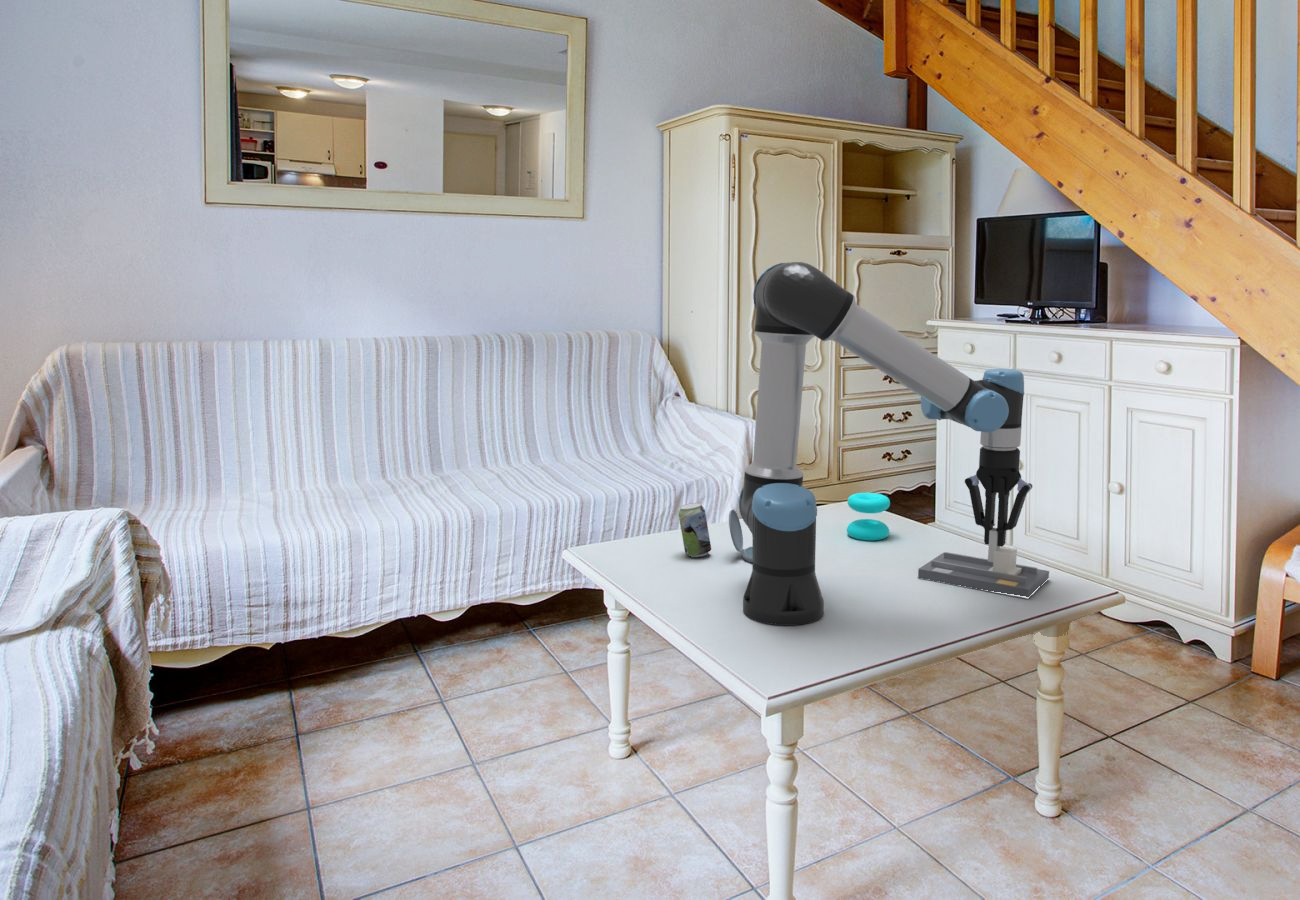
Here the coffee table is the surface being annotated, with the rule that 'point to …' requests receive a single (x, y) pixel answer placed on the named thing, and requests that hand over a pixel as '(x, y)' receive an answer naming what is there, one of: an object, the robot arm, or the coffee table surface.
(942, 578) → the switch panel
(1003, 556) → the switch tab
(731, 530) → the pocket watch
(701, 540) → the beverage can
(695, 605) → the coffee table surface
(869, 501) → the donuts
